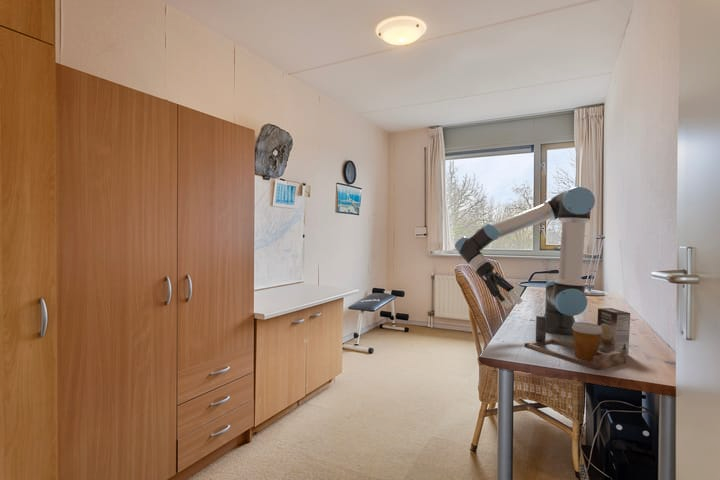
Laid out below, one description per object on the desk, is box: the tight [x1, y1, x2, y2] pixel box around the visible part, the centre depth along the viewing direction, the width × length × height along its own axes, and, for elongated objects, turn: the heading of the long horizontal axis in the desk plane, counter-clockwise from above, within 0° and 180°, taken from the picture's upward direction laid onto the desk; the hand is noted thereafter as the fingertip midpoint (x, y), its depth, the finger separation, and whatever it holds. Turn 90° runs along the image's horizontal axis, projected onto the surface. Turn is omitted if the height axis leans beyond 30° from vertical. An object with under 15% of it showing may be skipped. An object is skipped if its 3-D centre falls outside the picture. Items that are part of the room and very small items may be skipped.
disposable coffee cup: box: [572, 321, 602, 362], centre depth 134 cm, size 10×10×12 cm
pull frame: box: [523, 315, 627, 371], centre depth 139 cm, size 17×29×11 cm, turn 28°
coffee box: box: [596, 307, 631, 356], centre depth 143 cm, size 9×6×16 cm
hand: (515, 304), depth 157 cm, fingers open, 13 cm apart
